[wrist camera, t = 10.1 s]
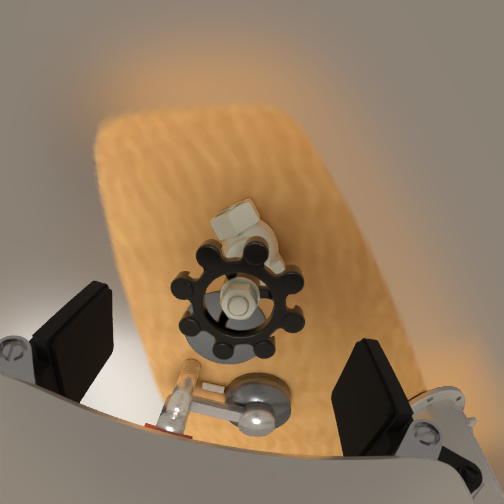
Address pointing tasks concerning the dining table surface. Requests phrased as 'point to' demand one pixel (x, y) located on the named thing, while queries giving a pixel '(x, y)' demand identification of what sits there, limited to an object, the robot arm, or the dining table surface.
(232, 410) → the crank
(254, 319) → the mat
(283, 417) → the crank housing
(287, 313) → the valve
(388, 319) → the dining table surface
